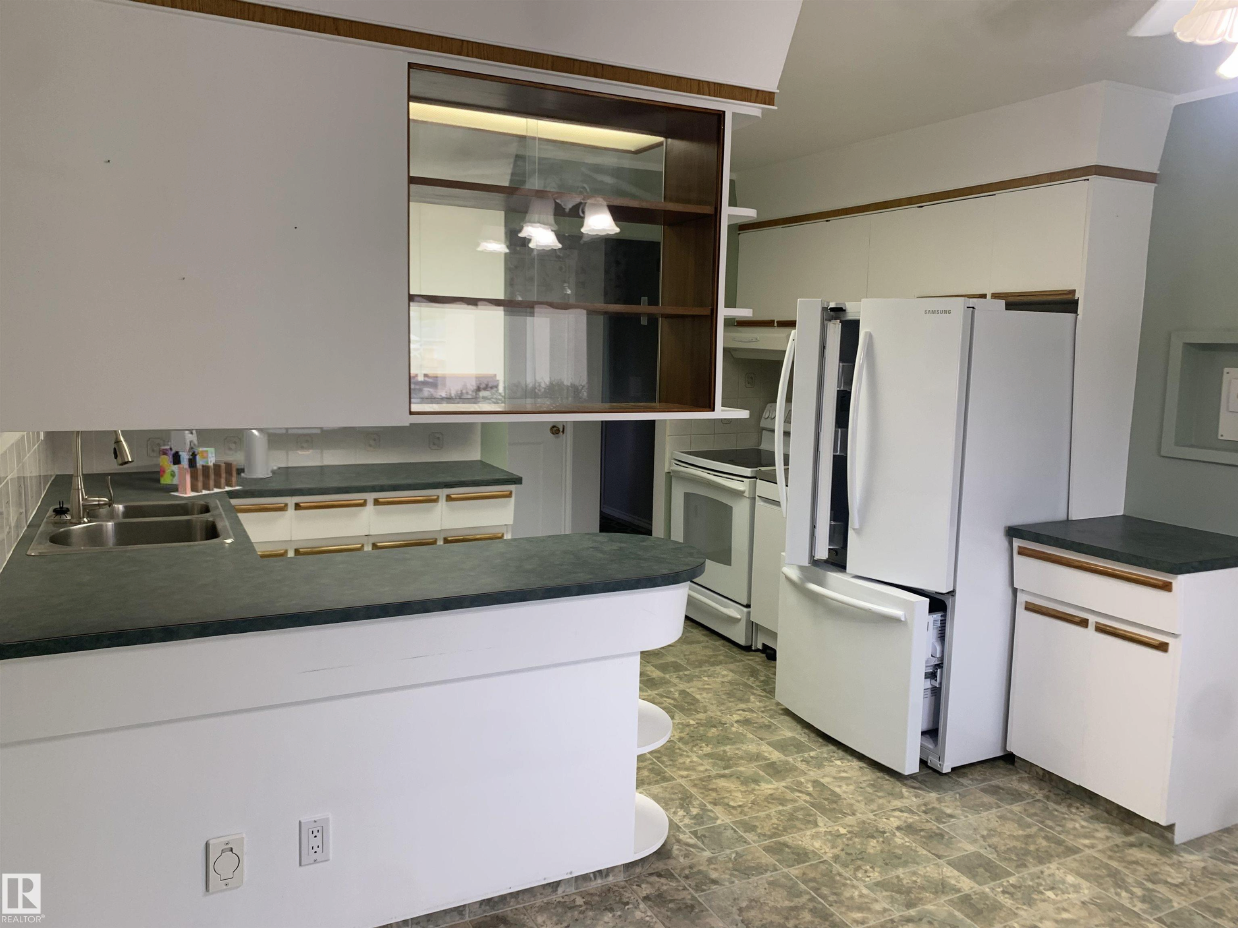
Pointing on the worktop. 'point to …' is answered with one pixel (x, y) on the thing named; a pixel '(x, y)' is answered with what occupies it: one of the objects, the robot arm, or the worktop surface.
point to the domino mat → (206, 491)
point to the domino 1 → (184, 480)
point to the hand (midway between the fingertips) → (184, 466)
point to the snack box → (171, 471)
